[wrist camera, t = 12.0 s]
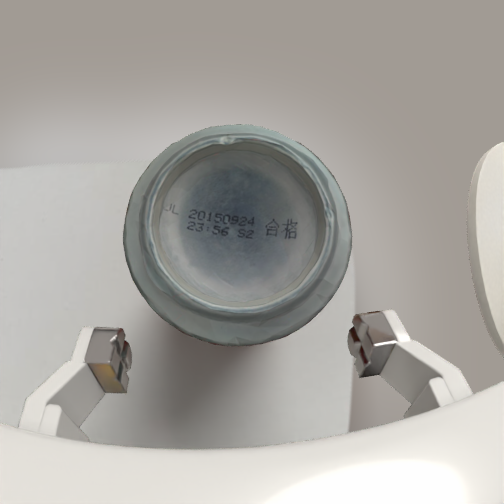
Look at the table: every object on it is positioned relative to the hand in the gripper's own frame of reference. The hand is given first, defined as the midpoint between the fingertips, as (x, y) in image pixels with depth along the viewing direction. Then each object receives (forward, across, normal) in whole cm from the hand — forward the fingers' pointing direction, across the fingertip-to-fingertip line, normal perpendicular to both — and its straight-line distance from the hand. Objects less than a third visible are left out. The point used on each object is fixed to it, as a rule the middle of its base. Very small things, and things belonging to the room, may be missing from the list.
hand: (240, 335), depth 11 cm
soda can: (+9, 0, +4) cm, 10 cm away
